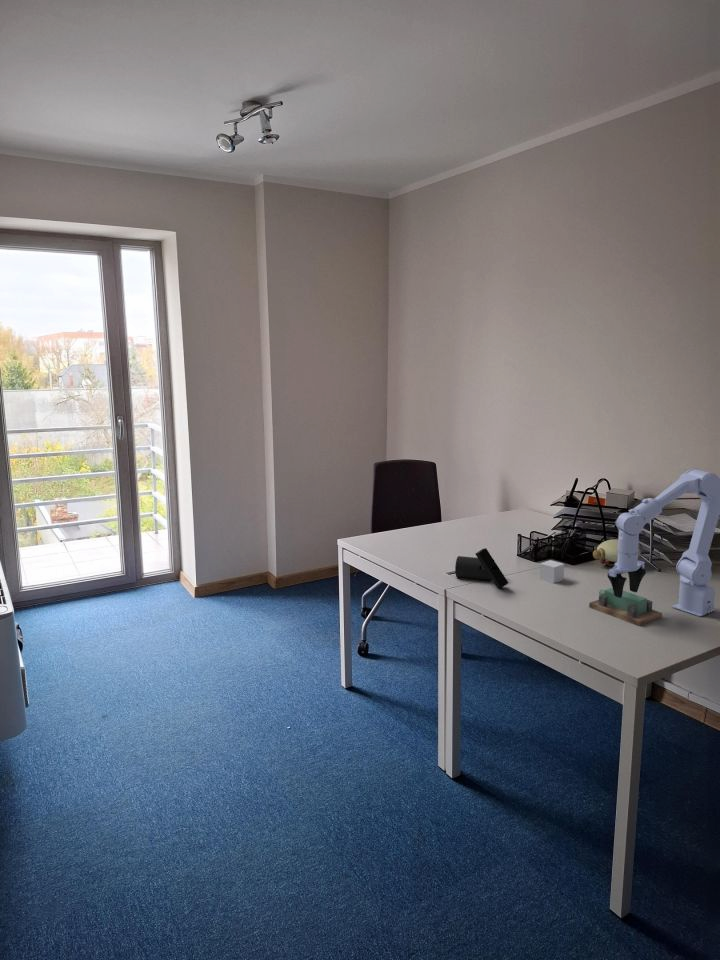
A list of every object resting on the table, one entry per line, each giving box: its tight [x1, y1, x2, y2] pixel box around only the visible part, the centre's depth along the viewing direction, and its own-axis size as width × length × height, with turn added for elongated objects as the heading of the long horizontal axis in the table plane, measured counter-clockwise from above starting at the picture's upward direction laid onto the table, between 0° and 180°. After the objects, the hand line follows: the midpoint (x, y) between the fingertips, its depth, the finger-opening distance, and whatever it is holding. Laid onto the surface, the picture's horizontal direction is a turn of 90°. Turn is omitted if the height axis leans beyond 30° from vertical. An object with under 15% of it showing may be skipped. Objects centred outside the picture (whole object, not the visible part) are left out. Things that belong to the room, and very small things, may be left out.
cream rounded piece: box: [592, 538, 642, 567], centre depth 248 cm, size 9×16×18 cm
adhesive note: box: [539, 559, 565, 584], centre depth 234 cm, size 6×6×6 cm
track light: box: [454, 548, 509, 589], centre depth 234 cm, size 15×14×20 cm
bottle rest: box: [588, 595, 663, 627], centre depth 203 cm, size 18×11×4 cm, turn 32°
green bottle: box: [598, 587, 648, 615], centre depth 204 cm, size 15×4×4 cm, turn 32°
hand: (625, 594), depth 202 cm, fingers open, 7 cm apart
